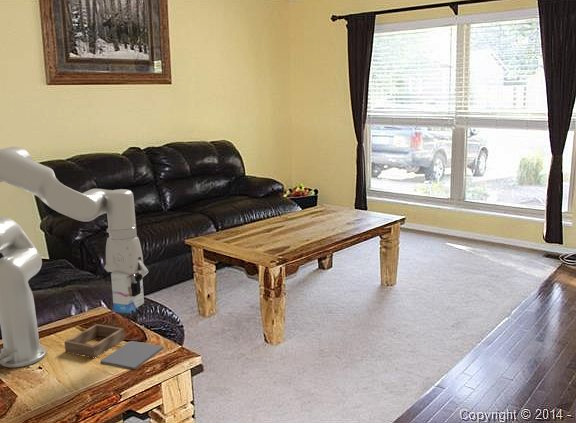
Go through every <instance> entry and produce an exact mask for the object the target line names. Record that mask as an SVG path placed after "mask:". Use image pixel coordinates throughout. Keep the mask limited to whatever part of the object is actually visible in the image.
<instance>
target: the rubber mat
mask: <svg viewBox="0 0 576 423" xmlns="http://www.w3.org/2000/svg"><path fill="white" fill-rule="evenodd" d="M162 350H164V346H162V345H157V344H151V343H146V342H140V341H136V340H135V341H134V340H130V341H129V342H126V343H125V344H124V345H123V346H121V347H119V348H118V349H116V350H115V351H113V352H112V353H110V354H108V355H107V356H106V357H103V359H102V360H100V363H102V364H106V365H111V366H116V367H120V368H125V369H131V370H136V369H138V368H139V367H141V365H143V364H144V363H146V362H147V361H148V360H150V359H151V358H153V357H154V356H155V355H156V354H158V353H159V352H160V351H162Z"/></svg>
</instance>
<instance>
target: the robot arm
mask: <svg viewBox="0 0 576 423" xmlns="http://www.w3.org/2000/svg"><path fill="white" fill-rule="evenodd" d="M3 182H4V183H6V184H9V185H11V186H13V187H16V188H18V189H21V191H22V190H23V191H24V192H27V193H29V194H31V195H34V196H35V197H38V198H39V200H41V201H42V202H43V203H44V204H45V205H47V206H48V207H49V208H50V209H52V210H54V211H56V212H57V213H59V214H62V215H64V216H66V217H69V218H71V219H74V220H76V221H80V222H91V221H94V220H96V218H98V217H99V216H102V215H104V214H106V216H107V226H108V227H106V233H108V237H107V239H106V245H105V265H104V267H103V268H104V270H105V271H106V272H107V273H108V275H109V276H110V277H111V273H112V272H113V271H115V272H120V273H125V274H128V275H131V279H132V282H133V283H131V289H132V296H133V297H135V296H137V295H139V294H140V293H141V288H140V281H141V280H143V279H144V277H145V276H146V275H147V274H148V273H149V269H148V268H147V267H146V265H145V264H144V256H143V251H142V245H141V242H140V239H139V237H138V235H137V233H138V232H137V224H136V221H137V220H136V212H135V209H136V208H135V199H134V192H132V190H130V189H123V188H120V189H113V190H112V189H104V188H91V189H88V190H86V191H84V192H79V191H77V190H75V189H72V188H71V187H68V186H66V185H64V184H63V183H62V182H60V181H59V179H58V178H57V177H56V174H55V172H54V169H52V168H51V167H50V166H46V165H43V164H41V163H39V162H37V161H35V160H33V157H32V155H31V153H29V152H28V151H27V150H26V149H24V148H23V147H19V146H10V147H4V148H0V183H3ZM0 254H1V255H2V257H1V258H0V330H1V331H0V332H1V338H2V344H3V348H0V365H1V366H3V367H5V368H20V367H21V368H22V367H26V366H30V365H33V364H34V363H35V364H36V363H37V362H39V361H41V360H43V359H44V358H45V356H46V355H47V349H46V347H44V346H43V345H41V344H40V337H39V330H38V328H39V327H38V322H37V321H38V320H37V315H36V313H37V312H36V304H35V300H34V299H35V298H34V294H33V291H32V289H31V286H30V284H29V281H30V280H31V278H33V277H34V276H36V275H37V274H38V273H39V272H40V270H41V268H42V266H43V265H42V264H43V260H42V256H41V254H40V252H39V251H38V249H37V248H36V246H35V245H34V243H33V241H32V240H31V239H30V238H29V236H28V235H27V233H26V232H25V231H24V229H23V228H22V227H21V225H20V224H18V222H16V220H13V218H9V217H7V216H0ZM140 270H141V273H140V272H139V271H140ZM135 274H136V276H135Z"/></svg>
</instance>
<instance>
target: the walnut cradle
mask: <svg viewBox="0 0 576 423" xmlns="http://www.w3.org/2000/svg"><path fill="white" fill-rule="evenodd" d="M98 336H99V337H103V339H101V340H100V341H98V342H97V343H95V344H88V342H89V340H90V341H91V340H93V339H95V338H97V337H98ZM124 340H126V331H125V328H124V327H123V328H122V327H118V326H117V327H116V326H112V325H107V324H100V323H95V324H93V325H92V326H90V327H89V328H87V329H84V330H83V331H81V332H79V333H78V334H75V335H74V336H72V337H70V338H69V339H67V340H65V341H64V349H65V353H66V352H69V353H68V354H70V353H74V354H73V355H75V354H79V355H78V356H80V355H85V356H89V357H88V358H90V357H94V358H93V359H96V358H98V357H99V356H101V355H102V354H104V353H105V352H104V351H106V350H107V351H109V350H110V349H112V348H113V347H115V346H117V345H118V344H119V343H121V342H124ZM87 341H88V342H87ZM85 342H86V343H87V344H86V343H85ZM84 343H85V344H84ZM114 345H115V346H114ZM111 347H112V348H111ZM109 348H110V349H109ZM108 349H109V350H108ZM107 351H106V352H107ZM103 352H104V353H103ZM101 353H102V354H101ZM100 354H101V355H100ZM98 355H99V356H98ZM85 356H84V357H85ZM97 356H98V357H97ZM95 357H96V358H95Z"/></svg>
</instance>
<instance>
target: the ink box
mask: <svg viewBox="0 0 576 423" xmlns="http://www.w3.org/2000/svg"><path fill="white" fill-rule="evenodd" d="M139 272H140V273H141V270H140V271H139ZM135 276H136V274H135ZM110 277H111V292H112V303H113V312H114V313H115V312H116V313H121V314H122V313H123V314H124V313H125V314H129V313H131V312H132V311H134V310H136V309H137V308H139V307H140V306H142V305H143V304H144V303H145V299H144V298H145V296H144V285H143V284H144V282H143V280H144V279H142V280H141V281H140V288H141V293H140V294H139V295H137V296H135V297H133V296H132V289H131V283H133V282H132V279H131V275H128V274H125V273H120V272H115V271H113V272H112V273H111V276H110Z"/></svg>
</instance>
